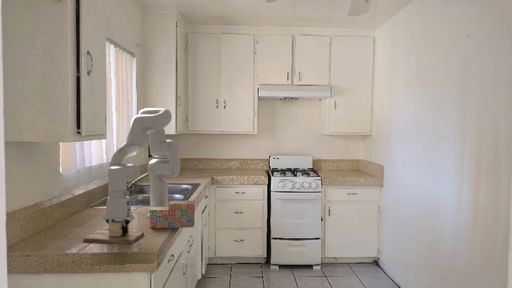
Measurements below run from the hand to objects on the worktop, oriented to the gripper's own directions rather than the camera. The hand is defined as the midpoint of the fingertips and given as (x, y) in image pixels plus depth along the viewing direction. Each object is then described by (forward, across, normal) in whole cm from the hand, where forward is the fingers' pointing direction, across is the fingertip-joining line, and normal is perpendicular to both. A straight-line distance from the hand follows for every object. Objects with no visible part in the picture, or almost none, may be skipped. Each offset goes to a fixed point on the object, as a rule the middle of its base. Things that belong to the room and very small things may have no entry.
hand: (118, 233), depth 156 cm
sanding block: (0, 0, 0) cm, 0 cm away
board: (+2, +2, +1) cm, 3 cm away
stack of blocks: (+2, -17, -21) cm, 27 cm away
